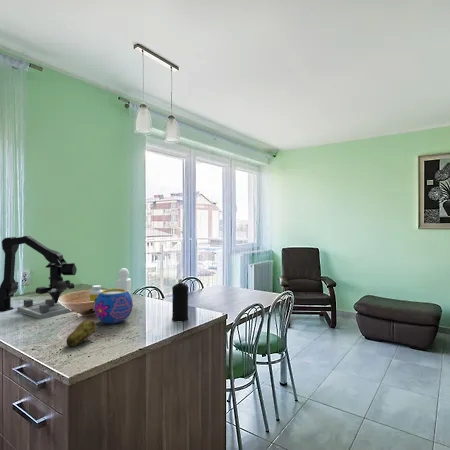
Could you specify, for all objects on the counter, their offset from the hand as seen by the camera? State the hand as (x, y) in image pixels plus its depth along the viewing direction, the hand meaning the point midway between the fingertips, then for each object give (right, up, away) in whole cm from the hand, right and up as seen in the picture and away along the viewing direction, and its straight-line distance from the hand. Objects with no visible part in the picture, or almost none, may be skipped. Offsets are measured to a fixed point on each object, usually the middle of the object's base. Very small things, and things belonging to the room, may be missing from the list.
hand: (55, 303), depth 173 cm
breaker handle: (-2, -1, -3) cm, 3 cm away
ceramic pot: (+40, -4, -23) cm, 47 cm away
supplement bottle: (+23, -3, -1) cm, 23 cm away
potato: (+36, -4, -48) cm, 60 cm away
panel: (-3, -3, -4) cm, 6 cm away
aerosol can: (+72, -4, -18) cm, 74 cm away
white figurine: (+36, -3, +5) cm, 37 cm away
